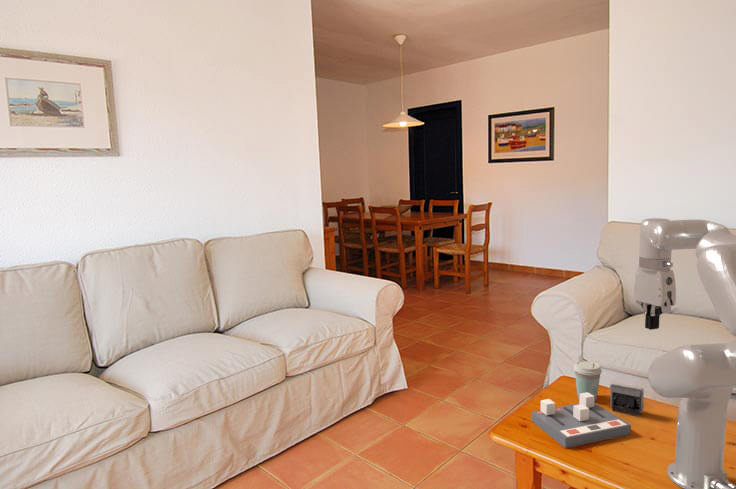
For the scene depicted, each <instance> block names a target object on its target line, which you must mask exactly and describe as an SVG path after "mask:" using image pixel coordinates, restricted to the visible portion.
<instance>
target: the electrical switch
mask: <svg viewBox="0 0 736 489" xmlns="http://www.w3.org/2000/svg"><path fill="white" fill-rule="evenodd" d="M609 388H610V396H609V397H610V398H609V400H610V402H609V405H610V407H611V410H612V412H615V413H620V414H621V413H622V414H626V415H630V416H636V417H640V414H642V413H644V397H645V396H644V395H645V393H644V392H645V389H644V388H643V387H639V386H635V385H634V386H633V385H629V384H628V385H627V384H624V383H616V382H611V383H610V385H609Z"/></svg>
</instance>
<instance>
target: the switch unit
mask: <svg viewBox="0 0 736 489" xmlns="http://www.w3.org/2000/svg"><path fill="white" fill-rule="evenodd" d="M574 405H580V404H579V402H578V403H572V404H568V405H563V406H557V407H556V406H555V414H552V415H547V416H546V415H545V414H544V413H542V412H541V409H540V410H535V411H531V422H532V421H533V422H534V423H533V422H532V423H533V424H534V425H536V426H537V427H538V428H539V429H541V430H542V431H543V432H545V433H546V434H547V435H548V436H549V437H551V438H552V439H554V441H555V442H557V443H558V444H559V445H560V446H562V447H563V448H564V449H568V448H573V447H578V446H583V445H586V444H592V443H597V442H601V441H606V440H612V439H615V438H620V437H621V438H622V437H625V436H630V435H631V434H632V433H631V429H632V424H630V423H629V422H626V420H624V419H622V418H620V417H619V416H617V415H616V414H614V413H612V412H611V411H609V410H607V409H606V408H604V407H602V406H601V405H599V404H598V403H596V402H594V407H590V408H589V420H584V421H579V420H577V419H576V418H574V417H573V406H574Z"/></svg>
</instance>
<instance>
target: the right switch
mask: <svg viewBox="0 0 736 489" xmlns="http://www.w3.org/2000/svg"><path fill="white" fill-rule="evenodd" d="M578 401H579V402H578V403H579V404H583V405H584V406H586V407H587V408H590V407H594V403H595V402H594V396H593V395H592V394H590V393H588V392H586V393H580V395H579V399H578Z"/></svg>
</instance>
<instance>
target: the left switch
mask: <svg viewBox="0 0 736 489" xmlns="http://www.w3.org/2000/svg"><path fill="white" fill-rule="evenodd" d="M555 408H556V402H555V401H553V400H552V399H551V398H546V399H542V400H540V410H541V412H542V413H544V414H545V415H546V416H547V415H552V414H555Z"/></svg>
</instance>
